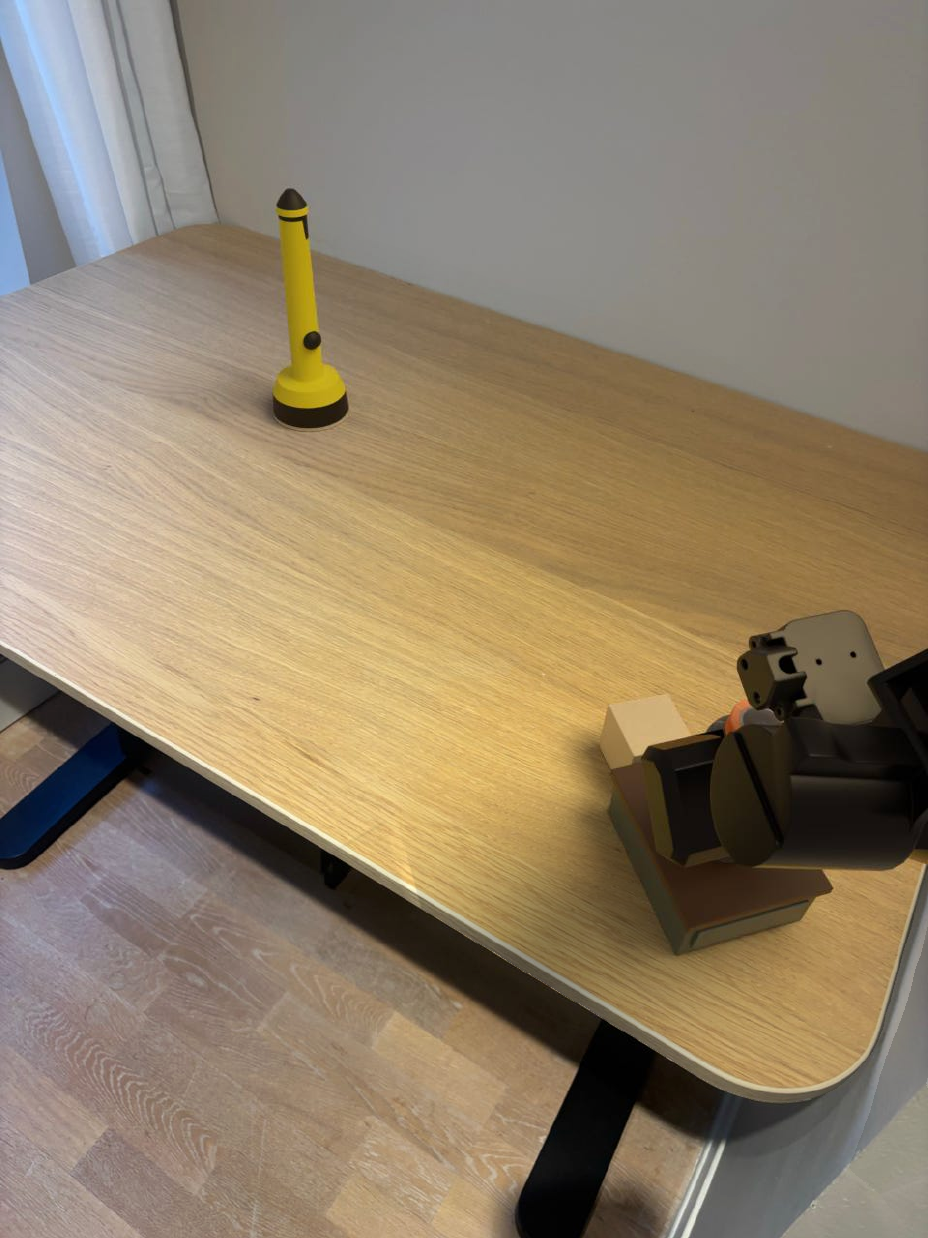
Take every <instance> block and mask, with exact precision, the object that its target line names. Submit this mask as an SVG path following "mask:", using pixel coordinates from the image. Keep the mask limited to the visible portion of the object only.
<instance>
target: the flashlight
mask: <svg viewBox="0 0 928 1238" xmlns="http://www.w3.org/2000/svg"><path fill="white" fill-rule="evenodd" d="M275 213H276V215H277V217H278V226H279V227H278V229H279V239H280V250H281V263H282V273H283V284H284V295H285V306H286V319H287V329H288V330H287V331H288V340H289V341H288V342H289V353H290V362H291V363H290V364H289V365H286V366H285V367H284V368H282V369H281V370H280V371H279V372H278V374H277V376H276V379H275V382H274V385H273V387H272V408H273V409H272V413H273V414H272V415H273V417H274V420H275V421H276V422H277V423H278V424H279V425H281V426H282V427H285V428H286V429H290V430H293V431H299V432H309V433H311V432H321V431H326V430H329V429H332V428H335V427H337V426H339V425H340V424H342V423H343V422H345V420H347V418H348V416H349V413H350V406H349V400H348V393H347V386H346V383H345V382H344V381H343V378H342V377H341V376H340V375H341V374H339V372H338V371H337V369H335V367H334V366H332V365H329V364H326V363H324V362H323V359H322V358H323V357H322V347H321V343H322V337H321V334H320V330H319V320H318V310H317V301H316V292H315V291H316V290H315V283H314V273H313V271H314V270H313V263H312V255H311V254H312V253H311V244H310V243H311V242H310V234H309V223H308V222H309V221H308V214H309V206H308V203H307V201H306V200H305V199H304V198H303V196H302V195H301V194H300V193H299V192H298V191H297V190H296V189H295V188H292V187H289V188H288V187H287V188H286V189H284V191H283V193H281V195H280V196H279V198H278V200H277V202H276V205H275Z"/></svg>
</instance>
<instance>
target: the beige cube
mask: <svg viewBox="0 0 928 1238" xmlns="http://www.w3.org/2000/svg"><path fill="white" fill-rule="evenodd" d="M688 736H693V735H692V734H691V732H690V730H689V728H688V726H687V725H686V723H685V721H684V719H683V718H682V716H681V714H680V712H679V711H678V709H677V708H676V706H675V704H674V702H673V700H672V699H671V697H670V695H669V694H668V693H663V694H657V695H653V696H647V697H642V698H637V699H632V700H627V701H622V702H621V701H620V702H617V703H610V704H608V705H607V708H606V713H605V717H604V721H603V725H602V729H601V734H600V738H599V742H598V746H599V748H600V751H601V753H602V754H603V756H604V759H605V761H606V763H607V765H608V767H609V770H611V769H614V768H618V767H623V766H627V765H631V764H636V763H640V762H641V759H640V758H641V756H642V755H643V753H644V752H645V750H646V748H647V747H648V746H649V745H654V744H658V743H663V742H667V741H671V740H676V739H680V738H685V737H688Z"/></svg>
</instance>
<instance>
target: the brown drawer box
mask: <svg viewBox="0 0 928 1238" xmlns="http://www.w3.org/2000/svg"><path fill="white" fill-rule="evenodd" d="M609 770H610V771H609V777H610V779H611V781H612V784H613V785H614V786H613V790H612V793H611V796H610V800H609V803H608V807H607V814H608V816H609V818H610V820H611V822H612V824H613V826H614V828H615V830H616V833H617V835H618V837H619V840H620V841H621V843H622V846H623V848H624V849H625V852H626V854H627V856H628V859H629V860H630V863H631V865H632V866H633V867H632V868H634V871H635V873H636V875H637V877H638V878H639V881H640V883H641V885H642V888H643V890H644V892H645V895H646V896H647V898H648V901H649V902H650V904H651V906H652V907H651V908H652V909H653V911H654V913H655V915H656V917H657V919H658V921H659V924H660V926H661V928H662V931H663V932H664V934H665V936H666V939H667V940H668V943H669V945H670V947H671V949H672V951H673V954H674V956H676V957H677V956H680V955H684V954H687V953H691V952H694V951H698V950H701V949H705V948H708V947H711V946H715V945H718V944H722V943H726V942H729V941H733V940H736V939H740V938H742V937H746V936H751V935H754V934H757V933H760V932H764V931H767V930H771V929H775V928H778V927H783V926H785V925H788V924H792V923H795V922H799V921H802V919H803V918H804V916H805V915H806V913H807V912H808V910H809V909H810V907H811V906H812V905H813V903H814V902H815V900H816V899H817V898H818V897H821V896H825V895H828V894H831V893H832V891H833V890H834V886H833V884H832V883H831V881H830V879H829V878H828V877H827V875H826V873H825V872H824V870H821V869H787V868H754V867H746V866H742V865H740V864H739V863H737V862H735V863H725V862H720V861H716V860H712V861H708V862H704V863H700V864H696V865H693V866H689V867H685V868H683V867H681V866H680V865H678V864H676V863H674V862H672V861H670V860H669V859H667V858H666V857H664V856H663V855H661V854H660V853H658V852H657V851H656V845H655V839H654V834H653V828H652V822H651V816H650V811H649V805H648V799H647V793H646V788H645V782H644V776H643V770H642V765H641V762H640V763H636V764H631V765H627V766H623V767H618V768H614V769H609Z"/></svg>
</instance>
